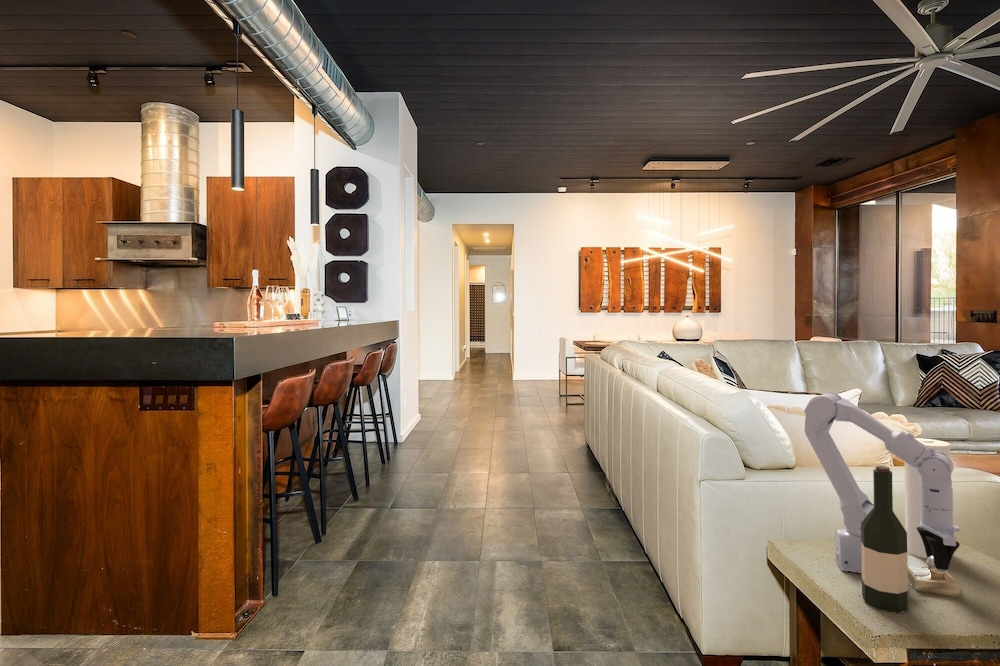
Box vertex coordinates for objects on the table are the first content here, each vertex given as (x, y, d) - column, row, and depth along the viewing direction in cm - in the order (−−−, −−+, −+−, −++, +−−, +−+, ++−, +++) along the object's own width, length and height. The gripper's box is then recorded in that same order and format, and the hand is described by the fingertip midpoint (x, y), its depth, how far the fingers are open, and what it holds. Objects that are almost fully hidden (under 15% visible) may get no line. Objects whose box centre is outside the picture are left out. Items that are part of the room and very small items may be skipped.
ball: (932, 574, 121) (930, 555, 122) (924, 570, 125) (922, 552, 126) (953, 576, 120) (951, 557, 121) (945, 572, 124) (942, 554, 124)
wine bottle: (853, 593, 121) (851, 462, 121) (890, 593, 121) (888, 462, 120) (878, 613, 113) (876, 472, 112) (918, 613, 112) (916, 472, 112)
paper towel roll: (959, 562, 135) (957, 444, 134) (915, 558, 138) (913, 443, 137) (939, 547, 144) (938, 436, 143) (899, 544, 147) (897, 435, 146)
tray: (915, 590, 122) (915, 579, 121) (903, 574, 129) (903, 564, 129) (960, 596, 119) (960, 585, 118) (944, 579, 126) (944, 569, 126)
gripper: (973, 519, 114) (974, 581, 115) (945, 498, 128) (945, 554, 128) (932, 515, 117) (933, 576, 117) (909, 495, 130) (910, 550, 131)
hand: (937, 564), depth 123 cm, fingers closed on ball, 4 cm apart
